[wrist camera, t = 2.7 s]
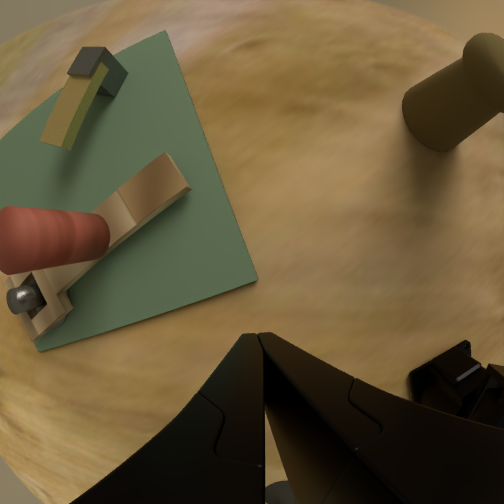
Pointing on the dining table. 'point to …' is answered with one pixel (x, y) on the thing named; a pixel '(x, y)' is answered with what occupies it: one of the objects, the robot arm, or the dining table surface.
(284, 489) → the sundae
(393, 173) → the dining table surface
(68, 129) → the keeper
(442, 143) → the cork
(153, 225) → the latch board
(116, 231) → the latch bar
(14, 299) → the pintle
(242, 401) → the robot arm
